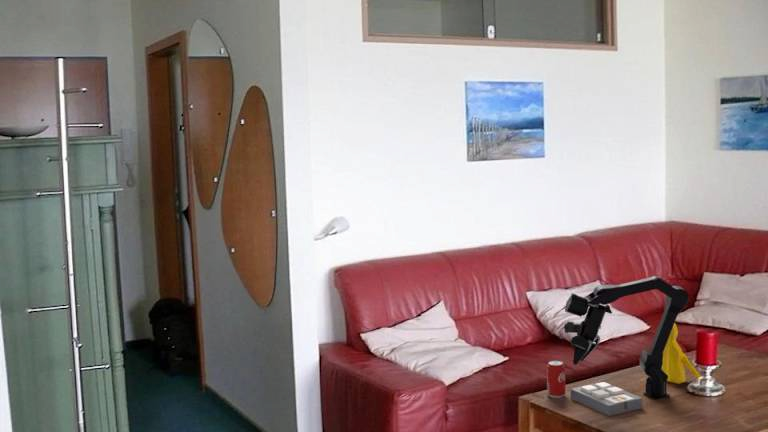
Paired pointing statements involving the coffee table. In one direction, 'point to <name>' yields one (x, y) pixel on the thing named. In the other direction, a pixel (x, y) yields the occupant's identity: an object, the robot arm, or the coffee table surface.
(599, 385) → the button
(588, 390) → the button
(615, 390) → the button
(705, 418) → the coffee table surface
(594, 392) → the button
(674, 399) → the coffee table surface
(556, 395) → the beverage can
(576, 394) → the panel
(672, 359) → the figure statuette
